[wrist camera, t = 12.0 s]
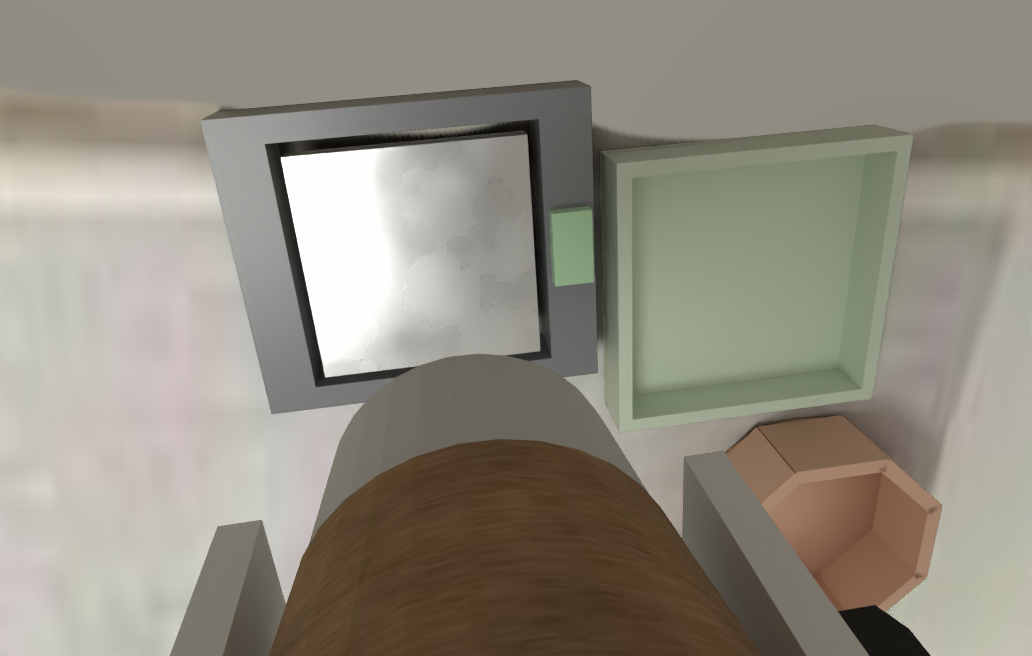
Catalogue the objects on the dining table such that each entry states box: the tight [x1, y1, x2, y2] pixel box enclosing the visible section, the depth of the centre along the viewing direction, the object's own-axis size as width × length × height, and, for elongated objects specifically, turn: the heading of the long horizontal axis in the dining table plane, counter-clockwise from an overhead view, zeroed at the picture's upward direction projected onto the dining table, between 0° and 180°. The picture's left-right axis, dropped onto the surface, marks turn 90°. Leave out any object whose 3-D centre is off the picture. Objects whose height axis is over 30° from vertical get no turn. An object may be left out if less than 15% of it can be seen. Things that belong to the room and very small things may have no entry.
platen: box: [281, 131, 540, 377], centre depth 29 cm, size 9×9×1 cm
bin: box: [725, 415, 942, 612], centre depth 37 cm, size 11×11×4 cm
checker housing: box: [200, 80, 598, 414], centre depth 29 cm, size 14×12×3 cm
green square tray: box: [600, 125, 914, 433], centre depth 32 cm, size 12×12×3 cm
